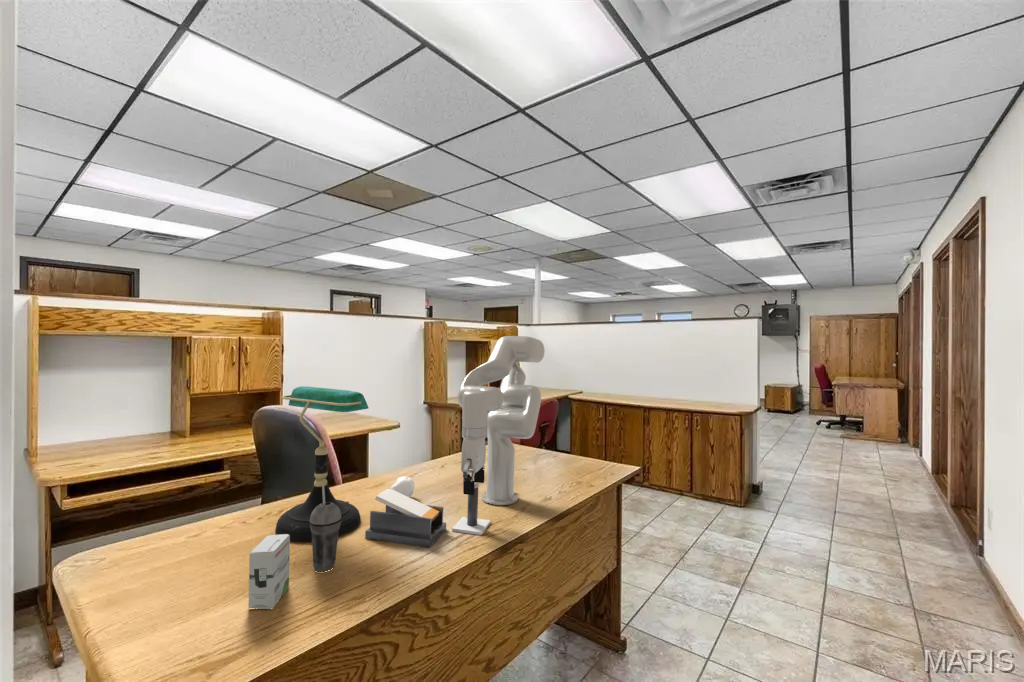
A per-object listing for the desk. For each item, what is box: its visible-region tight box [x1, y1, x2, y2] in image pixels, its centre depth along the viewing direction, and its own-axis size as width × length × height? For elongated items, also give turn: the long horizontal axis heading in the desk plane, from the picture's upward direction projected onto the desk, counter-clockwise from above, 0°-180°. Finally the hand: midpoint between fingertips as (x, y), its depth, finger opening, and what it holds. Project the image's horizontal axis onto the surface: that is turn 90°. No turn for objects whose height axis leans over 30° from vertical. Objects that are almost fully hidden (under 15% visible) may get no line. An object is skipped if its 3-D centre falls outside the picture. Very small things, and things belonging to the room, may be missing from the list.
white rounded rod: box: [466, 482, 480, 526], centre depth 133 cm, size 3×3×12 cm
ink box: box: [248, 534, 291, 609], centre depth 94 cm, size 9×5×12 cm, turn 5°
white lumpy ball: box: [390, 476, 415, 498], centre depth 155 cm, size 8×8×8 cm
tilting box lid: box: [374, 487, 440, 522], centre depth 127 cm, size 17×7×1 cm, turn 77°
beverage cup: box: [309, 486, 342, 573], centre depth 107 cm, size 7×7×20 cm
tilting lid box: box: [364, 504, 447, 548], centre depth 127 cm, size 19×12×7 cm, turn 77°
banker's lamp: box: [274, 385, 369, 543], centre depth 132 cm, size 26×23×40 cm
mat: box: [451, 516, 491, 536], centre depth 133 cm, size 9×9×1 cm
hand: (474, 488), depth 134 cm, fingers open, 9 cm apart
